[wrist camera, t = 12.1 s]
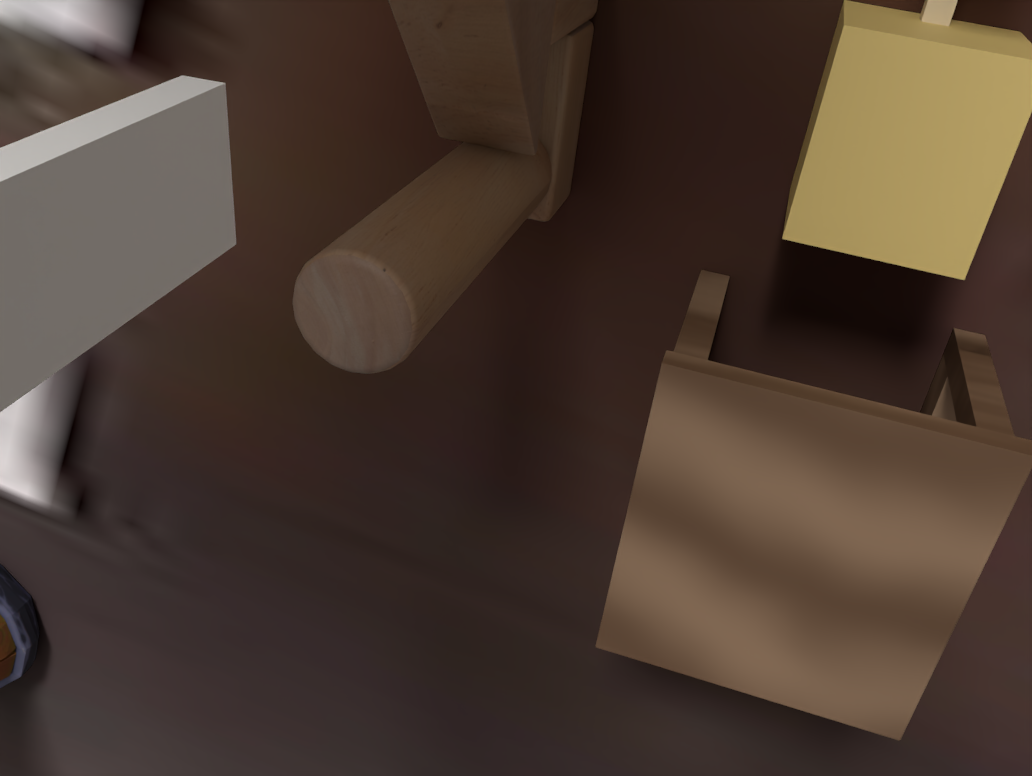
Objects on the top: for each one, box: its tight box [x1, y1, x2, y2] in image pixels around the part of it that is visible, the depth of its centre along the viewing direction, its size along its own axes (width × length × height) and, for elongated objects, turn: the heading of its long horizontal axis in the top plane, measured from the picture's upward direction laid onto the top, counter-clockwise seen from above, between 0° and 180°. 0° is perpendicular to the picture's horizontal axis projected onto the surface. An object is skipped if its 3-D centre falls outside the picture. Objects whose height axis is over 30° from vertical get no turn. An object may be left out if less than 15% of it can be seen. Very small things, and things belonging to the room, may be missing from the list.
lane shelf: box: [595, 270, 1032, 741], centre depth 39 cm, size 13×12×10 cm
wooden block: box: [292, 0, 598, 374], centre depth 31 cm, size 4×11×18 cm, turn 173°
